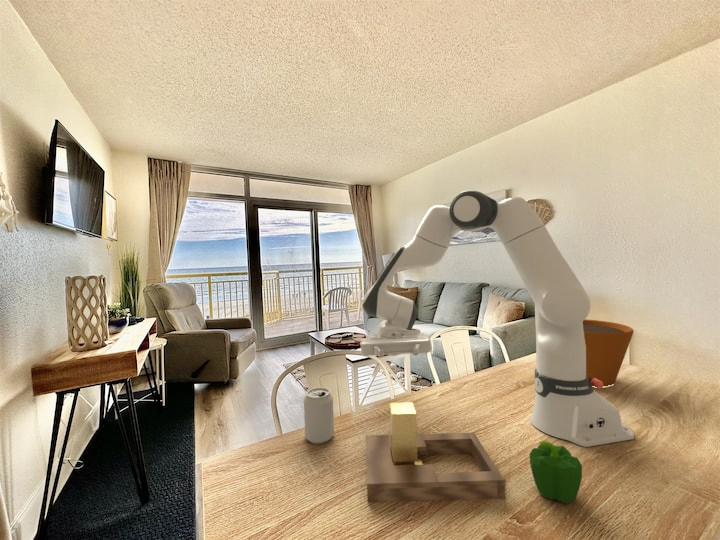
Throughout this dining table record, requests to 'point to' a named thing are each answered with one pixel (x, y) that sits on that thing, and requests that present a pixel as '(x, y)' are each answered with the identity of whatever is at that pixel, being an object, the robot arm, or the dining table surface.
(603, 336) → the flower pot
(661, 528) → the dining table surface
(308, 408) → the can
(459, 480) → the walnut keyhole plate
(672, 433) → the dining table surface
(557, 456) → the bell pepper
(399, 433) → the brass peg
